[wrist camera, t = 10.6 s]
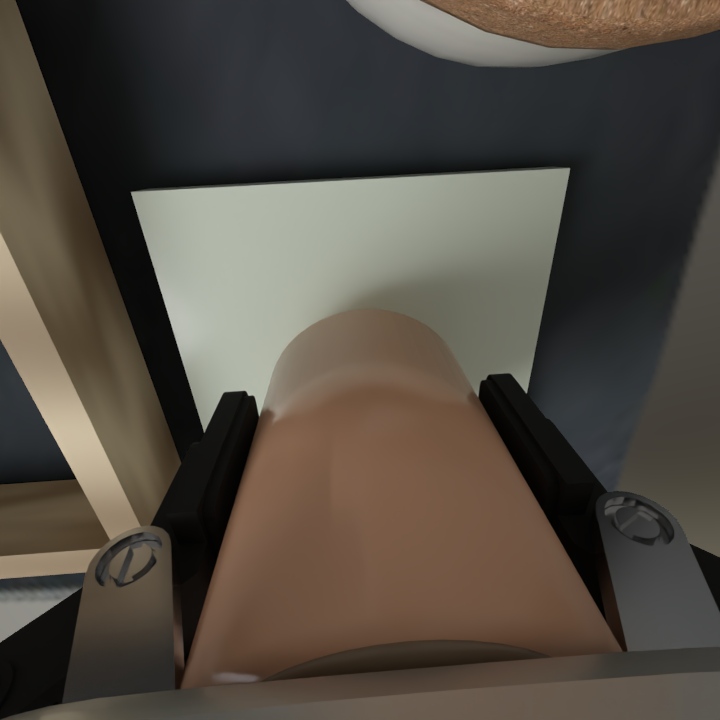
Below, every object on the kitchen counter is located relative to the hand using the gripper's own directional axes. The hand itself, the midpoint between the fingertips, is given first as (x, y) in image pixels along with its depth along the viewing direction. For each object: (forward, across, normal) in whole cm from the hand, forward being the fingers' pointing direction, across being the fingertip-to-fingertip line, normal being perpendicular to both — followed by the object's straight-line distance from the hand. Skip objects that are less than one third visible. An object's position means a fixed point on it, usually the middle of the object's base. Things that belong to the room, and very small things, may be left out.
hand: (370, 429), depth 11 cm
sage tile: (+4, 0, 0) cm, 4 cm away
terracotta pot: (+2, 0, 0) cm, 2 cm away
